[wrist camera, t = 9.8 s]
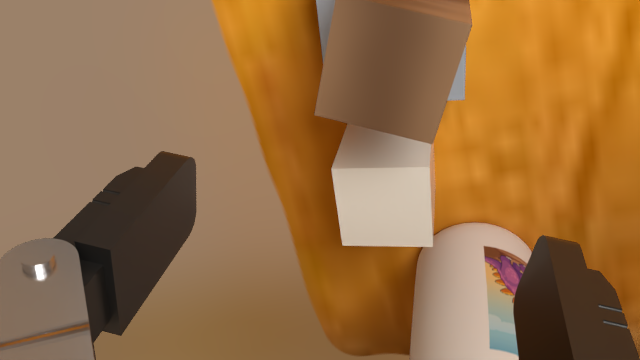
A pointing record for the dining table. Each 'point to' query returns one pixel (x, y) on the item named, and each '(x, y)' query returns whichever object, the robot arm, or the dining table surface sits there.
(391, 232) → the beige block
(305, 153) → the dining table surface
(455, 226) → the milk bottle
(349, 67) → the walnut block
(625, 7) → the dining table surface
